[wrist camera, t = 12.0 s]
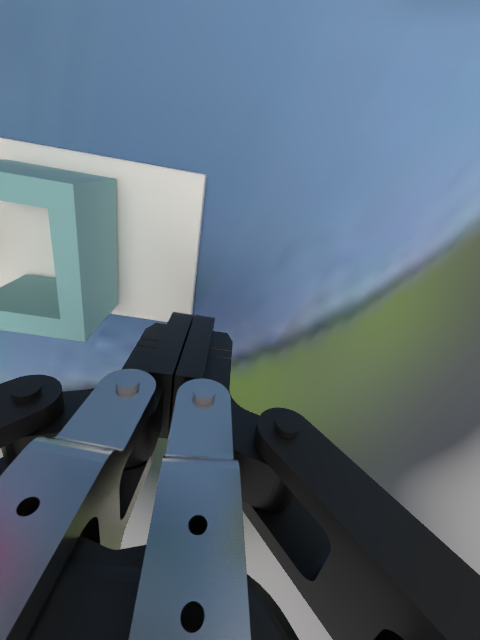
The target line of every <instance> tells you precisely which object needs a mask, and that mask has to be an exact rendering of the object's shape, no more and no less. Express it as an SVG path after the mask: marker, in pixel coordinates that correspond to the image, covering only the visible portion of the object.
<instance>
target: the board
mask: <svg viewBox="0 0 480 640" xmlns="http://www.w3.org/2000/svg"><path fill="white" fill-rule="evenodd" d="M0 159H7V160H13V161H19V162H24V163H30V164H36V165H41V166H47V167H53V168H58V169H64V170H70V171H75V172H81V173H87V174H92V175H98V176H104V177H109V178H115V179H116V211H117V263H118V305H117V306H116V307H115V309H114V310H113V311H112V312H111V313H110V314H116V315H123V316H129V317H136V318H143V319H150V320H157V321H163V322H168V321H169V319H170V317H171V315H172V313H173V312H178V313H185V314H192V313H193V303H194V294H195V284H196V275H197V265H198V255H199V246H200V236H201V227H202V217H203V207H204V198H205V188H206V179H207V174H201V173H196V172H190V171H185V170H179V169H174V168H168V167H163V166H157V165H152V164H146V163H141V162H135V161H130V160H124V159H119V158H113V157H107V156H102V155H96V154H91V153H85V152H80V151H74V150H69V149H63V148H58V147H52V146H47V145H41V144H36V143H30V142H25V141H19V140H14V139H8V138H3V137H0ZM25 274H28V275H35V276H41V277H48V278H54V279H56V276H55V268H54V259H53V251H52V242H51V233H50V225H49V216H48V209H47V208H41V207H35V206H29V205H23V204H17V203H11V202H5V201H0V287H2V286H4V285H6V284H8V283H10V282H12V281H14V280H16V279H17V278H19V277H21V276H23V275H25Z"/></svg>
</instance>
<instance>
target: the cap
mask: <svg viewBox="0 0 480 640" xmlns="http://www.w3.org/2000/svg"><path fill="white" fill-rule="evenodd" d="M0 201H5V202H11V203H17V204H23V205H29V206H35V207H41V208H47V209H48V216H49V225H50V233H51V242H52V251H53V259H54V268H55V276H56V279H54V278H48V277H41V276H35V275H28V274H25V275H23V276H21V277H19V278H17V279H16V280H14V281H12V282H10V283H8V284H6V285H4V286H2V287H0V330H4V331H11V332H18V333H25V334H32V335H39V336H47V337H54V338H61V339H68V340H75V341H82V342H86V341H87V339H88V338H89V337H90V336H91V335H92V334H93V333H94V331H95V330H96V329H97V328H98V327H99V326H100V325H101V323H102V322H103V321H104V320H105V319H106V318H107V317H108V315H109V314H110V313H111V312H112V311H113V310H114V309H115V307H116V306H117V305H118V263H117V211H116V179H115V178H109V177H104V176H98V175H92V174H87V173H81V172H75V171H70V170H64V169H58V168H53V167H47V166H41V165H36V164H30V163H24V162H19V161H13V160H7V159H0Z"/></svg>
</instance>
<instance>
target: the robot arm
mask: <svg viewBox="0 0 480 640" xmlns="http://www.w3.org/2000/svg"><path fill="white" fill-rule="evenodd" d="M214 321H215V318H212V317H205V316H199V315H195V316H194V315H192V314H185V313H178V312H173V313H172V315H171V317H170V319H169V321H168V323H167V324H160V323H155V324H153V325H152V326H150V327H148V328H147V329H145V331H144V333H143V335H142V336H141V339H140V340H139V341H138V343H137V345H136V346H135V348H134V350H133V351H132V353H131V355H130V356H129V358H128V360H127V361H126V363H125V365H124V366H123V368H122V370H118V371H115V372H112V373H110V374H108V375H107V376H105V377H104V378H103V379H102V380H101V381H100V382H99V384H98V385H97V386H96V387H95V388H93V389H88V390H78V391H66V392H62V386H61V384H60V382H59V381H58V380H57V379H55V378H53V377H50V376H46V375H28V376H23V377H19V378H16V379H13V380H10V381H7V382H4V383H2V384H0V448H1V449H2V453H3V457H2V458H0V640H299V639H298V637H297V635H296V634H295V632H294V630H293V629H292V627H291V625H290V623H289V622H288V620H287V619H286V617H285V615H284V614H283V612H282V611H281V609H280V608H279V606H278V605H277V604H276V602H275V601H274V600H273V599H272V597H271V596H270V595H269V594H268V593H267V592H266V591H265V590H264V589H263V587H261V585H260V584H259V583H257V582H256V581H255V580H254V579H252V578H251V577H250V576H249V575H248V574H247V572H246V556H245V543H244V526H243V511H244V513H245V514H246V516H247V517H248V519H249V520H250V522H251V523H252V524H253V526H254V527H255V528H256V530H257V531H258V533H259V534H260V536H261V537H262V539H263V540H264V541H265V543H266V544H267V546H268V547H269V549H270V550H271V552H272V553H273V555H274V556H275V557H276V559H277V560H278V561H279V563H280V564H281V566H282V567H283V569H284V570H285V572H286V573H287V574H288V576H289V577H290V579H291V580H292V582H293V583H294V585H295V586H296V587H297V589H298V590H299V592H300V593H301V595H302V596H303V597H304V599H305V600H306V602H307V603H308V605H309V606H310V607H311V609H312V610H313V612H314V613H315V614H316V616H317V617H318V619H319V620H320V622H321V623H322V625H323V626H324V627H325V629H326V630H327V632H328V633H329V635H330V636H331V637H332V639H333V640H480V575H479V574H477V573H476V572H475V571H474V570H473V569H472V568H471V567H470V566H469V565H468V564H466V563H465V562H464V561H463V560H462V559H461V558H460V557H458V555H456V554H455V553H454V552H453V551H452V550H451V549H450V548H449V547H448V546H446V545H445V544H444V543H443V542H442V541H441V540H440V539H439V538H438V537H436V536H435V535H434V534H433V533H432V532H431V531H430V530H428V528H426V527H425V526H424V525H423V524H422V523H421V522H420V521H419V520H418V519H416V518H415V517H414V516H413V515H412V514H411V513H410V512H409V511H408V510H406V509H405V508H404V507H403V506H402V505H401V504H400V503H399V502H398V501H396V500H395V499H394V498H393V497H392V496H391V495H390V494H389V493H388V492H386V491H385V490H384V489H383V488H382V487H381V486H379V485H378V483H376V482H375V481H374V480H373V479H372V478H371V477H370V476H368V475H367V474H366V473H365V472H364V471H363V470H362V469H361V468H360V467H359V466H357V465H356V464H355V463H354V462H353V461H352V460H351V459H350V458H348V457H347V456H346V455H345V454H344V453H343V452H342V451H341V450H340V449H338V448H337V447H336V446H335V445H334V444H333V443H332V442H331V441H330V440H329V439H327V438H326V437H325V436H324V435H323V434H322V433H321V432H320V431H318V430H317V429H316V428H315V427H314V426H313V425H312V424H311V423H310V422H308V421H307V420H306V419H305V418H304V417H303V416H301V415H300V414H298V413H296V412H295V411H292V410H289V409H285V408H271V409H268V410H266V411H264V412H263V413H262V414H261V415H260V416H259V415H257V414H254V413H252V412H249V411H247V410H245V409H243V408H242V407H240V406H239V405H238V404H237V403H236V402H235V401H234V400H233V399H232V397H231V395H230V391H229V385H230V371H231V356H232V340H231V339H230V337H229V335H228V334H227V333H222V332H215V331H213V328H214ZM169 432H170V434H169ZM168 435H169V439H168V445H167V451H166V455H165V456H164V457H163V460H162V465H161V470H160V475H159V481H158V486H157V492H156V497H155V502H154V507H153V513H152V518H151V523H150V529H149V534H148V540H147V545H143V546H138V547H132V548H126V549H120V548H121V542H122V538H123V535H124V531H125V528H126V525H127V523H128V520H129V518H130V515H131V513H132V510H133V508H134V505H135V502H136V500H137V498H138V495H139V493H140V490H141V488H142V485H143V483H144V480H145V478H146V475H147V473H148V470H149V468H150V466H151V463H152V458H153V452H154V450H155V447H156V444H157V441H158V437H159V438H168ZM242 510H243V511H242Z"/></svg>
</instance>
